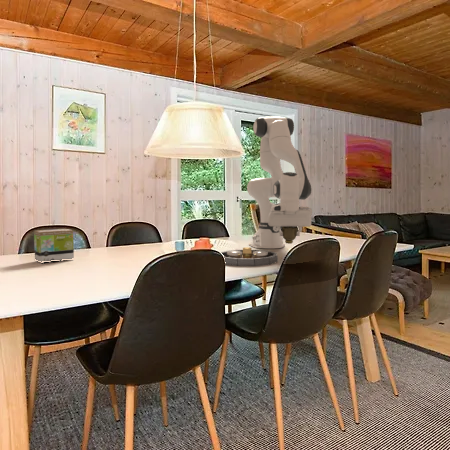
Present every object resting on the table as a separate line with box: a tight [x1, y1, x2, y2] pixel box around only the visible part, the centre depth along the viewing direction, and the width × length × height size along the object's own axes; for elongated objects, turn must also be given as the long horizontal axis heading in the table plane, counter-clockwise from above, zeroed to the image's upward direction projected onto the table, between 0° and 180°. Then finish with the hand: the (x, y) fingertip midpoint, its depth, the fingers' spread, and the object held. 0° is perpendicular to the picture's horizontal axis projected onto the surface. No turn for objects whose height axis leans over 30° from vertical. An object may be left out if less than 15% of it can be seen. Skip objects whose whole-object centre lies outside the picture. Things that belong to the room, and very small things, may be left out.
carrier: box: [221, 246, 278, 267], centre depth 181 cm, size 27×27×6 cm
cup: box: [281, 226, 299, 244], centre depth 188 cm, size 8×7×8 cm
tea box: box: [33, 228, 75, 262], centre depth 186 cm, size 15×10×15 cm
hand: (289, 235), depth 188 cm, fingers closed on cup, 6 cm apart
